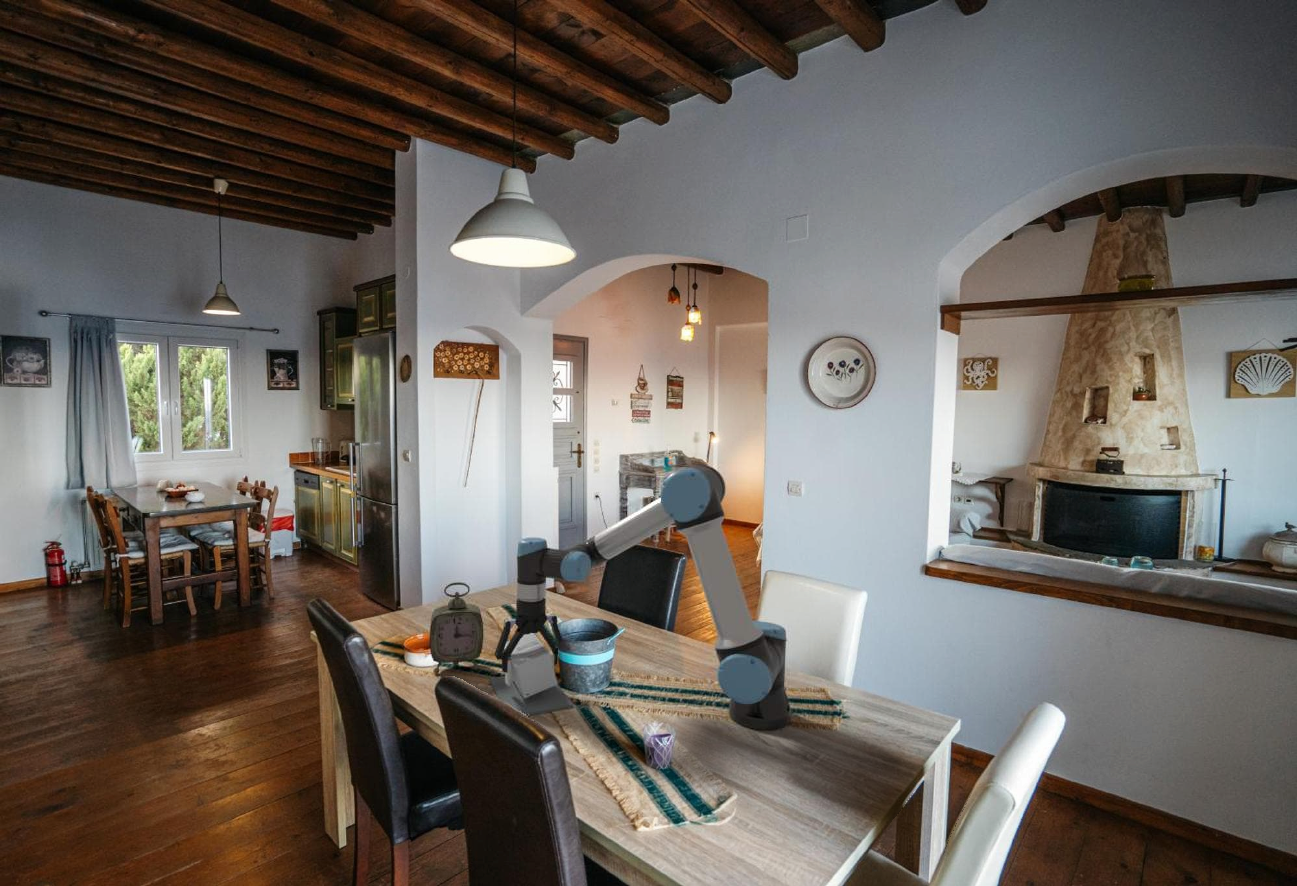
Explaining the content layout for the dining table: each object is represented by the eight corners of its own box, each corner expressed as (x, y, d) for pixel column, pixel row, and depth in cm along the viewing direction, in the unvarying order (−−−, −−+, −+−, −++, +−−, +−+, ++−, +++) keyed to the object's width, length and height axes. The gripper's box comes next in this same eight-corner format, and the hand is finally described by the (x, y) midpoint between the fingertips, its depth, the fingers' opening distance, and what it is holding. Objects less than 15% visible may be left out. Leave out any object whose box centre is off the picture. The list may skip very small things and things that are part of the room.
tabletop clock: (429, 677, 175) (430, 587, 174) (429, 664, 184) (430, 579, 183) (483, 671, 180) (484, 584, 179) (481, 659, 189) (482, 576, 187)
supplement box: (541, 661, 178) (558, 685, 162) (509, 675, 174) (524, 700, 159) (533, 630, 176) (550, 651, 161) (500, 642, 172) (515, 665, 157)
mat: (573, 707, 160) (573, 704, 160) (510, 718, 153) (510, 716, 153) (545, 671, 181) (545, 669, 181) (489, 680, 174) (489, 678, 174)
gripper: (569, 589, 174) (567, 668, 175) (483, 598, 164) (482, 681, 165) (578, 596, 167) (576, 678, 168) (489, 606, 157) (487, 693, 158)
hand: (529, 680), depth 167 cm, fingers closed on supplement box, 11 cm apart
